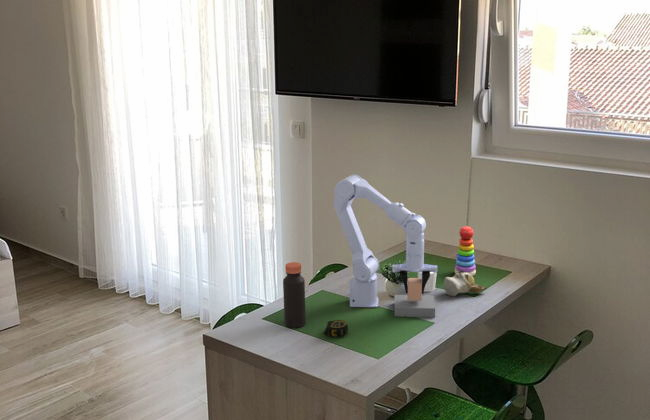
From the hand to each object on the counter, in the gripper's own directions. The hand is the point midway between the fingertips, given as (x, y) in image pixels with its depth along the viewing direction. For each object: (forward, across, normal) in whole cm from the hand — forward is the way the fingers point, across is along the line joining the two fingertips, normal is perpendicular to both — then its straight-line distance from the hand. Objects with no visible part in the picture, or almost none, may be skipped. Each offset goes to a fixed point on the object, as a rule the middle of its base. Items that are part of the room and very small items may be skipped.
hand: (414, 292), depth 228 cm
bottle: (+6, -38, -13) cm, 41 cm away
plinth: (+6, 0, 0) cm, 6 cm away
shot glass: (+6, +5, +19) cm, 21 cm away
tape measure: (+7, -25, -20) cm, 33 cm away
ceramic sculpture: (+7, +17, +16) cm, 24 cm away
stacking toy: (+6, +20, +35) cm, 41 cm away
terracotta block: (+2, 0, 0) cm, 2 cm away
